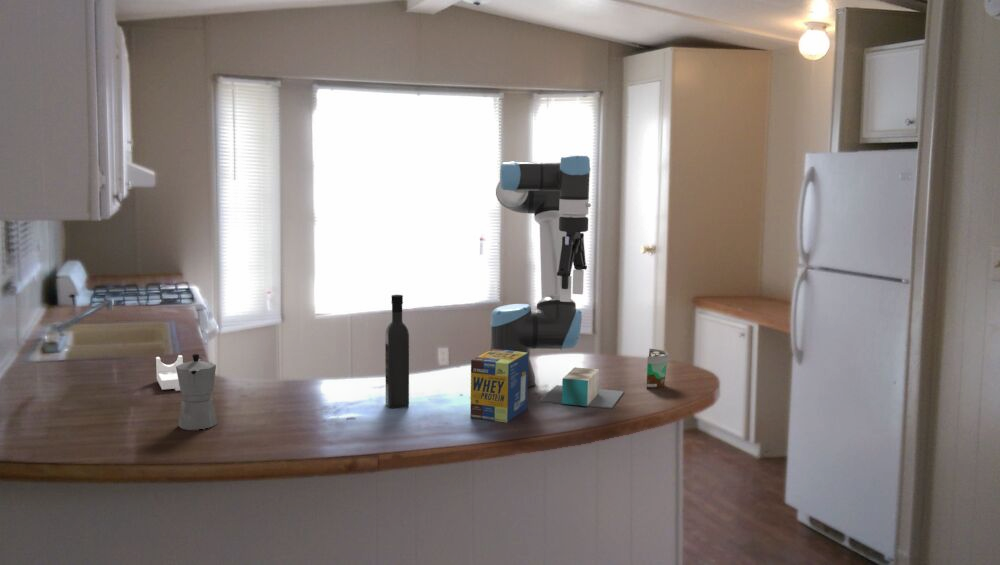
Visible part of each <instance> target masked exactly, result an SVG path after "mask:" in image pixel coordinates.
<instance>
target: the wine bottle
mask: <svg viewBox="0 0 1000 565" xmlns="http://www.w3.org/2000/svg"><path fill="white" fill-rule="evenodd" d="M403 297H404V296H403V294H392V295H391V322H390V323H389V324H388V325H387V327H386V329H385V338H384V340H385V344H384V345H385V355H384V356H385V360H384V361H385V404H386V406H387V407H388V408H389V409H398V408H399V409H401V408H408V407H409V406H410V333H409V329H408V327H407V326H406V324H405V323H404V322H403V304H404V302H403V301H404V300H403V299H404V298H403Z"/></svg>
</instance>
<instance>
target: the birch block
mask: <svg viewBox="0 0 1000 565" xmlns="http://www.w3.org/2000/svg"><path fill="white" fill-rule="evenodd" d="M599 372H600V369H597V368H596V369H595V368H585V367H574V368H572V370H570V371H569V372H568V373H567V374H566V375H565V376H564V377H562V384H561V386H562V404H561V405H568V404H571V405H570V406H578V405H581V406H580V407H588V404H589V403H590V402H591V401H592V400H593V399H594V398H595V397H596V395H597V394H598V389H599V381H600V380H599V377H600V376H599V375H600V374H599Z"/></svg>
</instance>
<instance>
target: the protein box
mask: <svg viewBox="0 0 1000 565" xmlns="http://www.w3.org/2000/svg"><path fill="white" fill-rule="evenodd" d="M527 385H528V353H527V352H518V351H510V350H501V349H491V348H490V350H488V351H486V352H484V353H482V354H479V355H477V356H476V357H475V358H471V360H470V418H471V419H477V420H484V421H493V422H498V423H499V422H501V423H506V424H507V423H509V422H510V421H512V420H513V419H515V417H517V416H518V415H519V414H521V413H522V412H523V411H525V410H526V409H527V408H528V388H527Z"/></svg>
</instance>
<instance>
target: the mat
mask: <svg viewBox="0 0 1000 565" xmlns="http://www.w3.org/2000/svg"><path fill="white" fill-rule="evenodd" d="M624 394H625V391H623V390H615V389H613V390H611V389H603V388H602V389H601V388H598V394H597V395H596V397H595V398H594V399H593V400H592V401H591V402H590V403H589V404H588V406H587V407H590V408H597V409H599V408H600V409H608V410H609V409H610V410H612V409H613V408H614V406H616V404H617V402H619V400H620V399H621V397H622V396H623V395H624ZM539 402H541V403H548V404H549V403H551V404H560V405H563V404H562V384H561V385H560V384H559V385H558V384H557V385H555V386H553V387H552V389H550V391H548V392H547V393H546V394H545V395H543V396H542V398H541V399H540V400H539ZM567 405H569V406H572V405H571V404H567ZM577 406H580V407H582V406H581V405H577Z"/></svg>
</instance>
